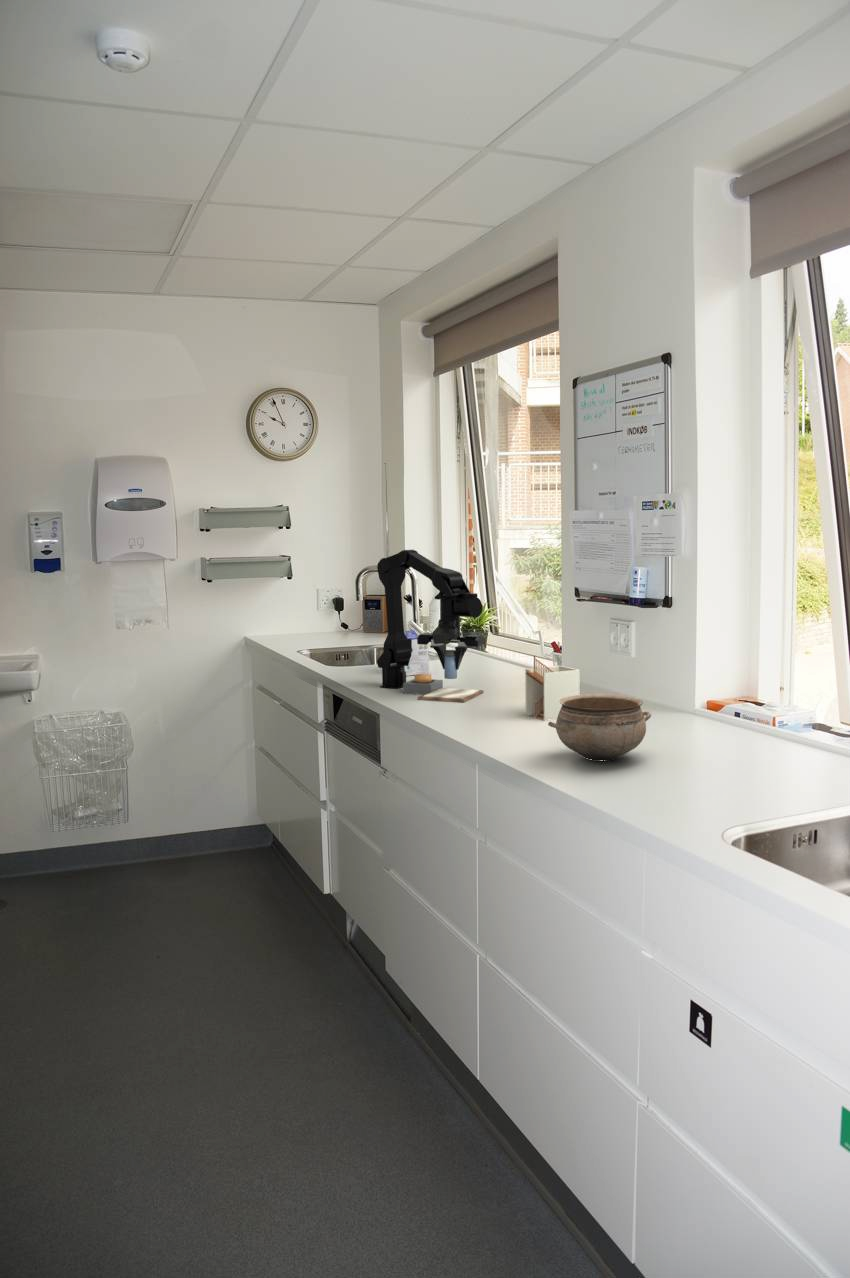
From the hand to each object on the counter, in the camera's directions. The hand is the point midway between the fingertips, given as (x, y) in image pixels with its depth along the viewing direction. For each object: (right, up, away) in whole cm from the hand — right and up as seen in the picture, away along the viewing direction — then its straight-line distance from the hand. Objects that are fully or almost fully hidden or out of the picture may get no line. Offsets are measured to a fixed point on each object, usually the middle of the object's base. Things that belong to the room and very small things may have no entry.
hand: (450, 669), depth 284 cm
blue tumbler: (0, -3, 0) cm, 3 cm away
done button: (-8, -4, +9) cm, 13 cm away
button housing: (-8, -7, +10) cm, 14 cm away
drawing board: (0, -8, +1) cm, 8 cm away
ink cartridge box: (-11, -3, +42) cm, 44 cm away
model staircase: (+26, -12, -29) cm, 40 cm away
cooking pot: (+30, -17, -74) cm, 82 cm away
